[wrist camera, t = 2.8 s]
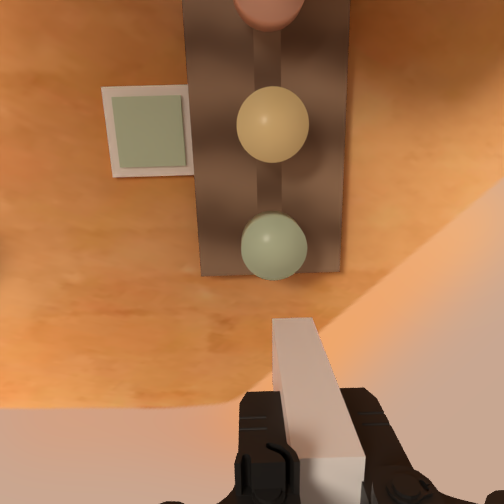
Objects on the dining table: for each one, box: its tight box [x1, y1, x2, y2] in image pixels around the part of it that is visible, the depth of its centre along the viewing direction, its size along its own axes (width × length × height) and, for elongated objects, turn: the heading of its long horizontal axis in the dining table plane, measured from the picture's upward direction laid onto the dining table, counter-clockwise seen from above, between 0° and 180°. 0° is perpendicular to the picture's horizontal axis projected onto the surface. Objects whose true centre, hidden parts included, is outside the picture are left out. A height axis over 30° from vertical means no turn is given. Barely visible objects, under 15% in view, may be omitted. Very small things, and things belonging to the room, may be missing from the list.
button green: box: [241, 211, 307, 280], centre depth 29 cm, size 5×5×5 cm
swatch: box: [101, 84, 194, 177], centre depth 31 cm, size 7×7×1 cm
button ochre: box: [236, 86, 309, 163], centre depth 27 cm, size 5×5×5 cm
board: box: [182, 0, 350, 276], centre depth 30 cm, size 24×12×2 cm, turn 2°
